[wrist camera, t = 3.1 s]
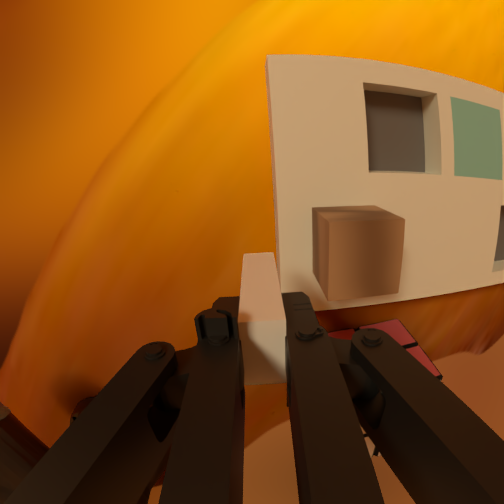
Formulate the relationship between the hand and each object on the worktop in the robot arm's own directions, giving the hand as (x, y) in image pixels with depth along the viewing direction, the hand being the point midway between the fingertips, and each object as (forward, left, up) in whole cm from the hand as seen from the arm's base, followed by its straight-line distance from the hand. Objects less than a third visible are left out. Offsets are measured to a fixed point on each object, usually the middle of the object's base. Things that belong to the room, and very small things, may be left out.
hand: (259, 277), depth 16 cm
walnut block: (+7, 0, -7) cm, 9 cm away
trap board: (+17, +4, -10) cm, 20 cm away
